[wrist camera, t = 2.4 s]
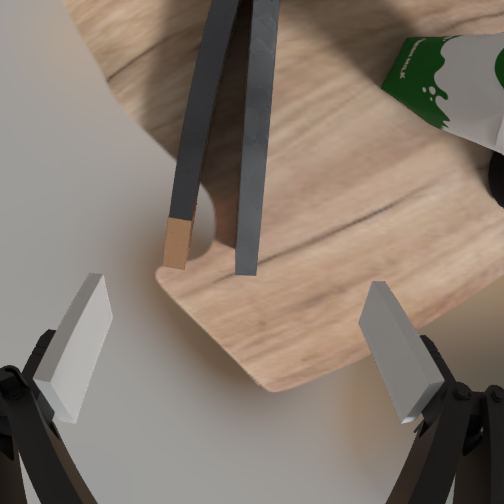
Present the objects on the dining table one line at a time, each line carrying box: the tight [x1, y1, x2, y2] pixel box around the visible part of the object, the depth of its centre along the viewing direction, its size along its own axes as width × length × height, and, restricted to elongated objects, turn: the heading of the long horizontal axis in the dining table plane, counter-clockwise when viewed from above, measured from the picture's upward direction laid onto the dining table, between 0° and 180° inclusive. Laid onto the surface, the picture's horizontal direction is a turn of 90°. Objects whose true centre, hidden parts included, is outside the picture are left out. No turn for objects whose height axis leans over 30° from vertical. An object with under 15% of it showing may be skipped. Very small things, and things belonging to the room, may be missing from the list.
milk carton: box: [381, 32, 504, 155], centre depth 18 cm, size 9×9×20 cm
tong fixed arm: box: [235, 0, 280, 276], centre depth 25 cm, size 32×4×5 cm, turn 176°
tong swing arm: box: [163, 0, 242, 270], centre depth 26 cm, size 27×2×5 cm, turn 167°
